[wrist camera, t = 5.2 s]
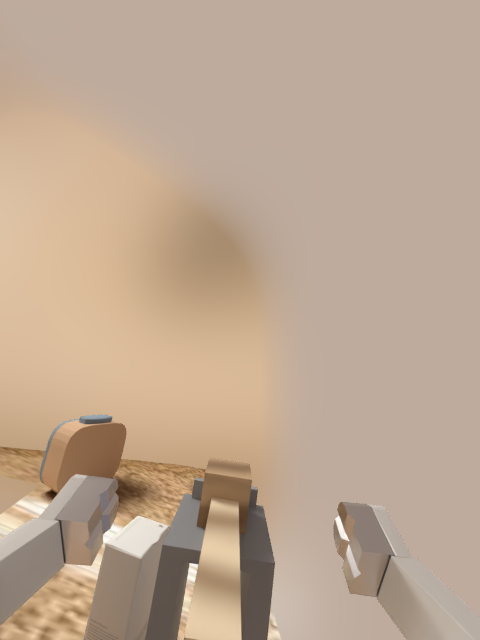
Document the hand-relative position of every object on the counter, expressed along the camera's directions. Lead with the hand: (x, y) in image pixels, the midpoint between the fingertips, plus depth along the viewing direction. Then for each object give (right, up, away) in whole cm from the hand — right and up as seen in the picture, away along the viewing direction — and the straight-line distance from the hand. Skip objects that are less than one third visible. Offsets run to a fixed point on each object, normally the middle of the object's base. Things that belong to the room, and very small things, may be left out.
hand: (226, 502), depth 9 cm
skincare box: (-17, -42, +27) cm, 53 cm away
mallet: (-1, -14, +12) cm, 18 cm away
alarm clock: (-51, -46, +71) cm, 98 cm away
